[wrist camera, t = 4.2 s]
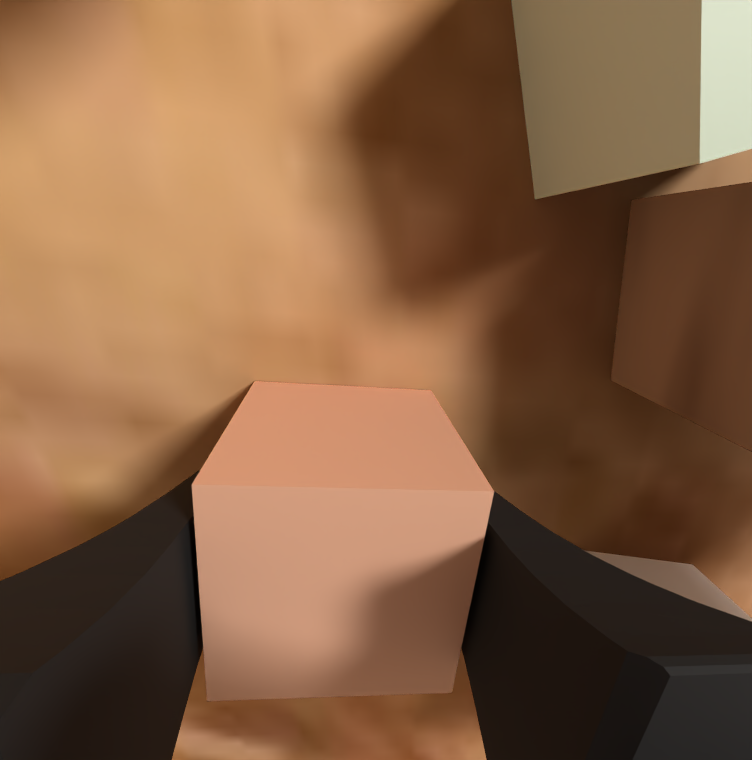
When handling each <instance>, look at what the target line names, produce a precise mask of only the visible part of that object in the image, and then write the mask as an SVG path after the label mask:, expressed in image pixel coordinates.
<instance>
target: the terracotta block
mask: <svg viewBox="0 0 752 760" xmlns="http://www.w3.org/2000/svg"><path fill="white" fill-rule="evenodd" d="M493 495H494V490H493V489H492V487H491V486H490V484H489V482H488V481H487V479H486V478H485V476H484V474H483V473H482V471H481V470H480V468H479V466H478V465H477V463H476V462H475V460H474V458H473V457H472V455H471V453H470V452H469V450H468V449H467V447H466V445H465V444H464V442H463V441H462V439H461V437H460V436H459V434H458V433H457V431H456V429H455V428H454V426H453V425H452V423H451V421H450V420H449V418H448V417H447V415H446V413H445V412H444V410H443V409H442V407H441V405H440V404H439V402H438V401H437V399H436V397H435V396H434V394H433V392H432V391H431V390H417V389H397V388H378V387H358V386H339V385H319V384H300V383H280V382H261V381H254V383H253V385H252V386H251V388H250V389H249V391H248V393H247V394H246V396H245V398H244V399H243V401H242V403H241V404H240V406H239V408H238V409H237V411H236V412H235V414H234V416H233V417H232V419H231V421H230V422H229V424H228V426H227V427H226V429H225V431H224V432H223V434H222V436H221V437H220V439H219V440H218V442H217V444H216V445H215V447H214V449H213V450H212V452H211V454H210V455H209V457H208V459H207V460H206V462H205V463H204V465H203V467H202V468H201V470H200V472H199V473H198V475H197V477H196V478H195V480H194V482H193V483H192V497H193V511H194V525H195V539H196V553H197V567H198V581H199V595H200V609H201V623H202V637H203V651H204V665H205V679H206V693H207V701H231V700H260V699H289V698H317V697H346V696H375V695H403V694H432V693H452V689H453V685H454V680H455V675H456V670H457V666H458V661H459V656H460V651H461V647H462V642H463V637H464V632H465V628H466V623H467V618H468V613H469V609H470V604H471V599H472V594H473V590H474V585H475V580H476V576H477V571H478V566H479V561H480V557H481V552H482V547H483V542H484V538H485V533H486V528H487V523H488V519H489V514H490V509H491V504H492V500H493Z"/></svg>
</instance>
